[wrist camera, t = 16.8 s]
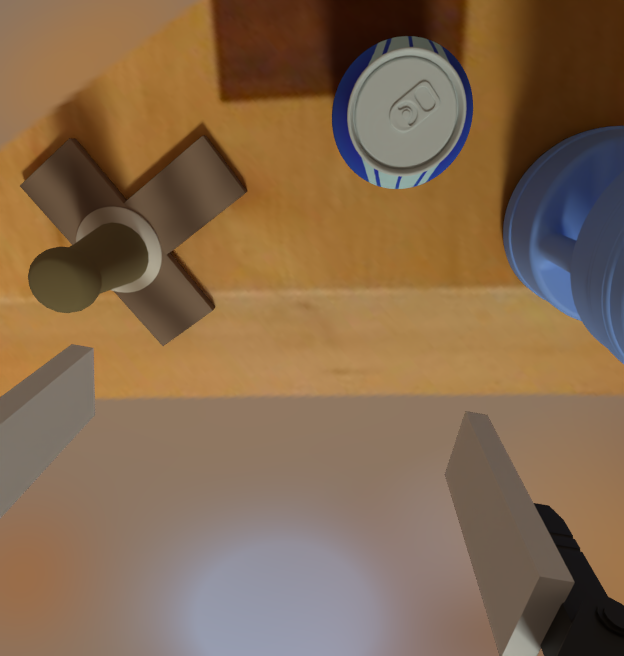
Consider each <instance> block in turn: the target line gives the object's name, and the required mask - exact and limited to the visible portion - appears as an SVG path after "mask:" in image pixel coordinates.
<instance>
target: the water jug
mask: <svg viewBox="0 0 624 656" xmlns="http://www.w3.org/2000/svg"><path fill="white" fill-rule="evenodd" d="M503 241H504V248H505V252H506V256H507V259H508V261H509V264H510V266H511V268H512V269H513V271H514V273H515V274H516V276H517V277H518V278H519V279H520V281H521V282H522V283H523V284H524V285H525V286H526V287H527V288H529V289H530V290H531V291H532V292H534V293H535V294H536V295H538V296H539V297H541V298H542V299H544V300H546V301H548V302H549V303H551V304H552V305H553V306H554V307H556V308H557V309H558V310H560V311H561V312H563V313H565V314H566V315H568V316H570V317H573V318H575V319H577V320H580V321H582V322H583V323H584V325H585V326H586V328H587V329H588V331H589V332H590V333H591V334H592V335H593V336H594V337H595V338H596V339H597V340H598V341H599V342H600V343H601V344H603V345H604V346H605V347H607V348H608V349H609V350H610V352H611V353H612V354H613V355H614V356H615V357H616V358H617V359H618V360H619V361H621V362H622V363H623V364H624V126H608V127H603V128H597V129H592V130H588V131H585V132H582V133H579V134H576V135H574V136H571V137H569V138H567V139H565V140H563V141H562V142H560V143H558V144H557V145H555V146H553V147H552V148H551V149H549V150H548V151H547V152H545V153H544V154H543V155H542V156H541V157H539V158H538V159H537V160H536V161H535V162H534V163H533V164H532V165H531V166H530V168H529V169H528V170H527V171H526V172H525V174H524V175H523V176H522V178H521V179H520V181H519V182H518V184H517V186H516V188H515V189H514V191H513V193H512V196H511V198H510V200H509V203H508V206H507V209H506V213H505V218H504V226H503Z"/></svg>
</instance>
